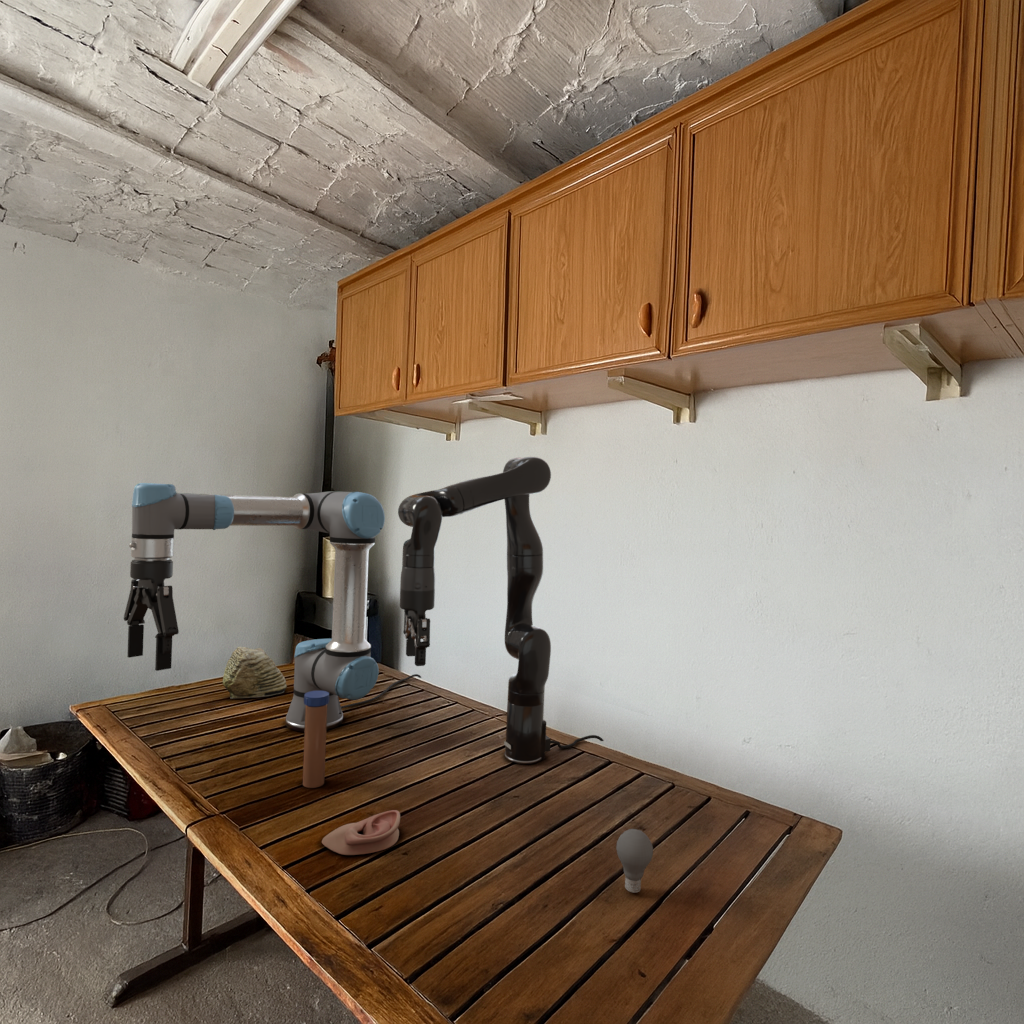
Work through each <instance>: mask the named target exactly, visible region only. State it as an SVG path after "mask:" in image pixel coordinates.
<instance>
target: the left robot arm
mask: <svg viewBox="0 0 1024 1024" xmlns="http://www.w3.org/2000/svg"><path fill="white" fill-rule="evenodd" d="M385 515H386V513H385V511H384V508H383V505H382V503H381V502H380V501H379V500H378V498H377V497H375V495H373V494H370V493H367V492H363V491H362V492H361V491H337V490H336V491H335V490H333V491H332V490H330V491H321V492H311V493H295V494H294V495H293V496H276V495H275V496H274V495H273V496H272V495H248V494H247V495H246V494H244V495H243V494H220V493H219V494H218V493H217V494H216V493H215V494H214V493H189V492H187V493H186V492H177V491H176V486H175V485H174V484H173V483H152V482H139V483H137V484H136V485H135V486H134V488H133V492H132V501H131V520H132V521H131V542H130V543H128V547H129V548H130V549H131V550H130V556H131V558H133V559H132V560H131V561H130V567H129V568H130V571H129V574H130V575H129V576H130V578H131V581H130V590H129V594H128V598H127V603H126V607H125V610H124V615H123V621H124V622H126V624H127V626H128V629H127V630H128V631H127V658H135V657H142V656H144V635H145V634H144V630H145V625H144V624H145V623H146V621H145V619H144V618H145V616H146V615H147V612H148V609H149V610H151V613H152V618H153V620H154V624H155V627H156V631H157V633H156V635H155V636H154V638H155V661H154V663H155V665H154V668H155V669H154V670H155V671H157V672H159V671H164V670H169V669H172V659H173V657H172V655H173V637H175V636H176V635H179V632H180V631H179V625H178V619H177V615H176V614H177V613H176V609H175V603H174V597H173V595H174V593H173V585H165V580H167V579H171V578H172V577H173V575H174V573H173V572H174V561H173V560H172V559H171V558H173V557H174V554H175V553H174V552H175V530H213V531H215V530H224V529H228V528H230V526H233V527H234V526H237V527H238V526H240V527H243V526H246V527H247V526H249V527H250V526H258V527H259V526H268V527H269V526H276V527H277V526H282V527H284V526H285V527H286V526H287V527H288V526H289V527H290V526H291V527H293V528H294V529H296V530H308V531H309V530H310V531H316V532H319V533H325V534H329V544H330V545H331V546H332V547H333V548H334V550H335V551H334V572H333V573H334V577H333V599H332V625H331V626H332V627H331V638H317V639H308V640H304V641H300V642H299V643H297V645H296V646H295V650H294V655H293V657H294V672H293V673H294V674H293V695H292V696H293V697H292V699H291V702H290V704H289V708H288V711H287V713H286V715H285V726H286V728H287V729H289V730H291V731H294V732H295V731H296V732H301V733H304V732H305V706H306V705H305V704H304V695H305V693H307V692H310V691H327V692H329V696H330V698H329V703H328V704H327V728H326V731H329V730H332V729H335V728H337V727H339V726H340V725H342V723H343V722H344V713H343V709H347V708H352V707H356V706H360V705H363V704H367V703H371V702H373V701H375V700H377V699H379V698H381V697H382V696H383V695H385V694H386V693H387V692H389V690H390V689H391V688H392V687H394V686H396V685H398V684H400V683H402V682H405V681H408V680H410V679H412V678H414V677H417V678H419V679H422V676H421V675H420V674H417V673H415V674H411V675H410V676H407V677H405V678H401V679H399V680H397V681H394V682H393V683H391V684H390V685H388V687H386V689H385V690H383V691H382V692H381V693H379V694H378V695H376V696H374V697H372V698H369V699H366V700H363V701H359V702H354V703H350V704H349V703H348V704H345V705H341V702H340V699H339V698H341V699H342V700H343V699H344V700H348V701H349V700H350V701H357V700H360V699H362V698H364V697H365V696H367V695H368V694H370V692H371V690H372V689H374V687H375V685H376V683H377V682H378V678H379V674H380V672H379V671H380V670H379V669H380V668H379V665H378V663H377V662H376V660H375V659H374V657H371V652H372V649H371V648H372V644H371V643H370V642H368V640H367V639H366V631H367V607H368V606H367V605H368V604H367V602H368V582H369V581H368V579H369V555H370V553H369V552H370V550H371V548H372V547H374V545H375V544H376V536H378V535H379V534H380V533H381V530H383V528H384V526H385V522H386V521H385V520H386V516H385Z"/></svg>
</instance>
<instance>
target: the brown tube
mask: <svg viewBox="0 0 1024 1024" xmlns="http://www.w3.org/2000/svg"><path fill="white" fill-rule="evenodd" d="M326 728H327V705H324V706H318V707H311V706H307V705H306V706H305V732H303V733H304V735H303V758H302V759H303V760H302V761H303V762H302V765H303V766H302V786H303V787H305V788H308V789H315V788H319V787H322V786H323V785H324V784H325V779H326V778H325V777H326V752H327V751H326V749H327V730H326Z"/></svg>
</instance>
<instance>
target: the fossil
mask: <svg viewBox="0 0 1024 1024" xmlns="http://www.w3.org/2000/svg"><path fill="white" fill-rule="evenodd" d="M222 676H223V677H222V685H223V687H224V688H225V690H226V691H228V693H229V698H230V699H250V698H264V697H271V696H275V695H281V694H284V693H285V691H286V689H287V687H288V686H287V680H286V678H285V676H284V674H283V673H282V672H281V669H279V668H278V667H277V665H276V663H275V662H274V660H273V659H272V658H271V657H270V656H269V655H268V654H267V653H266V652H265V650H264V649H263V648H260V647H258V648H251V647H247V646H246V647H245V646H238V647H237V648H236V649H235V650H233V651H232V653H231V656H230V657H229V659H228V660H227V663H226V666H225V668H224V671H223V675H222Z"/></svg>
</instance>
